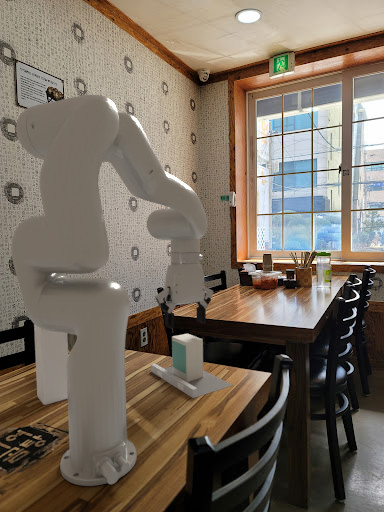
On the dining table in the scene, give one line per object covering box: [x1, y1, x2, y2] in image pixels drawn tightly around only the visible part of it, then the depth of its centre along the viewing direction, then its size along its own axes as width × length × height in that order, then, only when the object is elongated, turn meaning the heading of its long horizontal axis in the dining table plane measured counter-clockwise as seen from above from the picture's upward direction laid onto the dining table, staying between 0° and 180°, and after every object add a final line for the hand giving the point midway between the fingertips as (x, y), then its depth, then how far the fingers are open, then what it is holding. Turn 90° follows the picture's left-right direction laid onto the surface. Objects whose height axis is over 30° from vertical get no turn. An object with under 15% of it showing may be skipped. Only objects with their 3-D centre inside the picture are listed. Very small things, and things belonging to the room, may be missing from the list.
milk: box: [33, 323, 69, 406], centre depth 88 cm, size 6×6×22 cm
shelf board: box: [150, 363, 234, 399], centre depth 95 cm, size 20×12×4 cm, turn 34°
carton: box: [171, 333, 204, 382], centre depth 97 cm, size 7×5×10 cm
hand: (185, 325), depth 96 cm, fingers open, 9 cm apart
